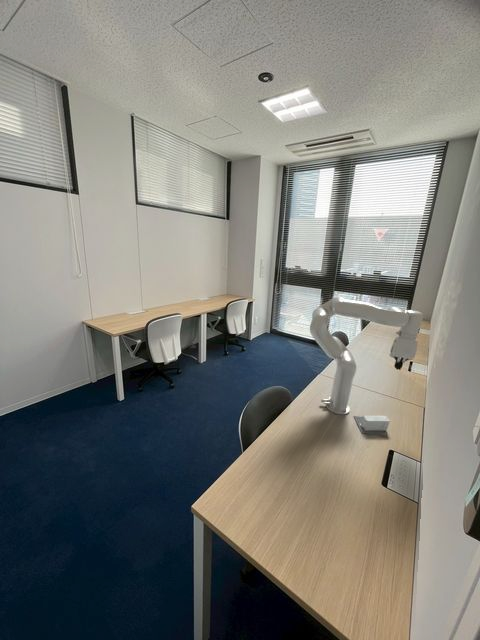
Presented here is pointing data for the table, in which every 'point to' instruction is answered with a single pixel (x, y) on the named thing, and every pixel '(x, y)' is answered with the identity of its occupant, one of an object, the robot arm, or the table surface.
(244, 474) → the table surface
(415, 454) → the table surface
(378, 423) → the skincare box
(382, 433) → the mat
